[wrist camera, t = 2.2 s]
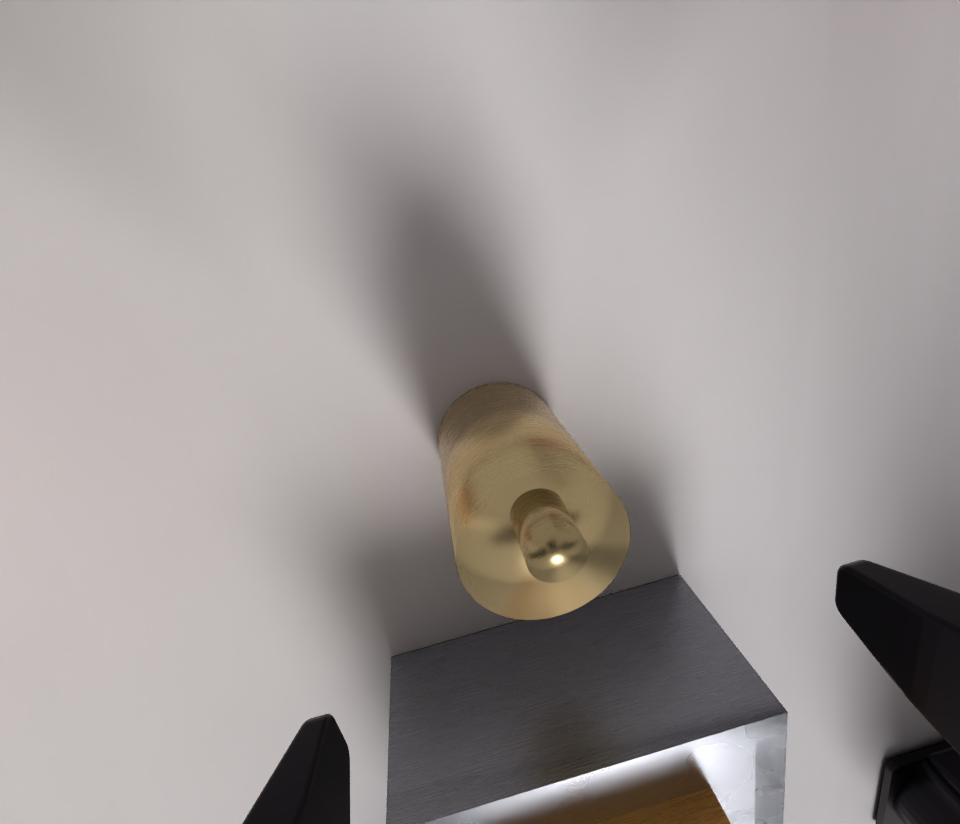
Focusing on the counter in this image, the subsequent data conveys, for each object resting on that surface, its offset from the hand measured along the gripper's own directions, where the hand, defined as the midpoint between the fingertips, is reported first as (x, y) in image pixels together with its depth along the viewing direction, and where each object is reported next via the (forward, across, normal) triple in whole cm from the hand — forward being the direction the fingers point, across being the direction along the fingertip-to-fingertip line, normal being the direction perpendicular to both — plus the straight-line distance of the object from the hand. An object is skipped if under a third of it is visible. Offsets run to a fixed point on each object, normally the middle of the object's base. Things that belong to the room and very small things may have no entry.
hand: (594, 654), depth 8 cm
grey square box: (+9, 0, +14) cm, 16 cm away
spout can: (+9, 0, 0) cm, 9 cm away
